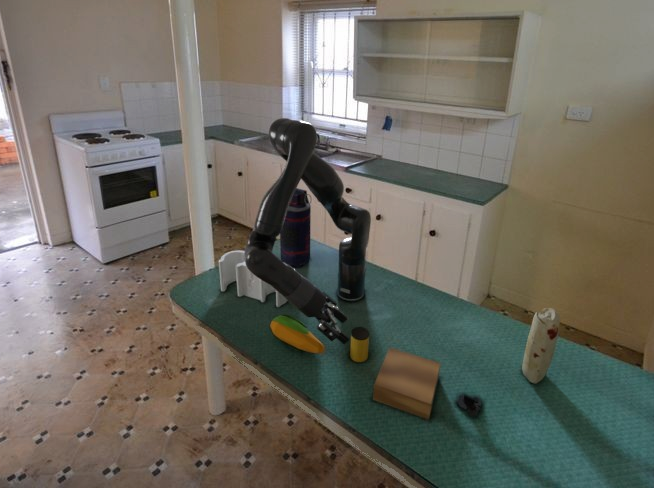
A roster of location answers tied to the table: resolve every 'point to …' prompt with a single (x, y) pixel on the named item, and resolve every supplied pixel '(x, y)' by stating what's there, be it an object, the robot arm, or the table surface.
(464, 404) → the block figure
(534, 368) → the food model
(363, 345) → the tin
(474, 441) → the table surface
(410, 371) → the wood block
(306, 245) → the navy water bottle
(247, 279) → the bracket
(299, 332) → the corn
